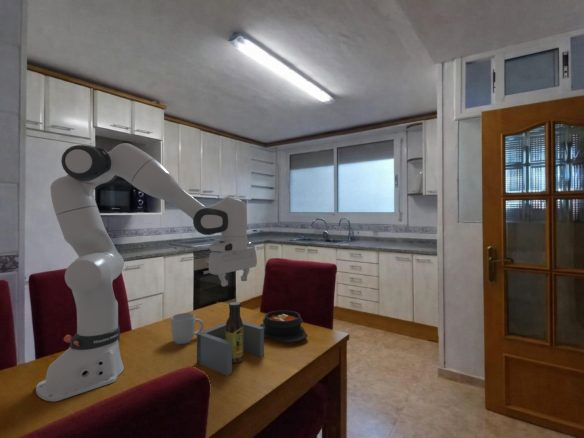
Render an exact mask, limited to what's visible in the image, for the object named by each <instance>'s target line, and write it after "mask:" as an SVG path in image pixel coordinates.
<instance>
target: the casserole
mask: <svg viewBox="0 0 584 438" xmlns="http://www.w3.org/2000/svg"><path fill="white" fill-rule="evenodd" d="M262 322H263V323H261V324H260V325H259V326H261V327H264V337H266V338H268V339H269V338H270V339H272V340H278V341H281V342H282V343H296V342H299V341H300V342H301V341H303V340H305V339H306V338H308V334H307V332H306V330H305V328H304V326H302V323H303V322H304V320H303V319H302V317H301V314H300V313H298V312H297V311H293V310H286V309H285V310H284V309H280V310H274V311H270V312H267V313H265V316H264V318H263V319H262Z"/></svg>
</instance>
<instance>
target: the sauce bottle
mask: <svg viewBox="0 0 584 438" xmlns="http://www.w3.org/2000/svg"><path fill="white" fill-rule="evenodd" d="M241 307H242V306H241V302H239V301H238V302H237V301H233V302H230V303H228V309H229V315H228V318H227V319H226V322H225V323H226V333H225V340H227V341H229V342H232V364H235V363H236V364H237V363H240V362H241V361H243V358H244V357H243V356H244V351H243V322H244V321H243V320H242V317H241ZM242 321H243V322H242Z"/></svg>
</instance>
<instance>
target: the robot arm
mask: <svg viewBox="0 0 584 438" xmlns="http://www.w3.org/2000/svg"><path fill="white" fill-rule="evenodd" d="M60 159H61V166H62V169H63V170H64V172H65V173H66V174H67V175H64V176H61V177H58V178H56V179H55V180H54V181H53V182H52V183H51V185H50V198H51V202H52V207H53V210H54V213H55V216H56V219H57V222H58V224H59V228H60V230H61V234H62V236H63V239H64V240H65V242H66V243H67V244H68V245H70V246H71V248H72V249H73V250H74V252H75V253H76V255H77V257H78V258H76V259H74V261H72V262H71V263H70V265H69V266H68V267H67V268H66V269H65V273H64V281H65V284H66V285H67V287H68V288H69V289H71V292H72V295H73V298H74V302H75V308H76V333H75V334H74V335H73V336H72V335H70V334H66V335H65V336H64V337H63V341H64V342H66V343H67V344H69V347H68V348H67V349H66V350H65V351H64V352H63V353H62V354H60V355H59V356H58V357H57V358H56V359H55V360H53V362H51V363H50V364H49V366H48V368H47V370H46V375H45V379H43V380H42V381H40V382H38V383H37V384H36V387H35V393H36V395H37V396H38V397H39V398H40V399H42V400H44V401H47V402H58V401H62V400H64V399H68V398H70V397H74V396H76V395H77V396H78V395H80V394H83V393H86V392H89V391H92V390H95V389H98V388H100V387H103V386H107V385H109V384H112V383H114V382H115V381H116V380H117V379H118V377H119V375H120V374H122V372H123V371H124V369H125V366H124V364H123V361H122V356H121V350H120V345H119V344H120V343H119V342H120V340H121V339H120V336H121V331H120V325H119V304H118V303H119V302H118V300H117V299H116V295H115V293H114V289H113V281H114V280H116V279H117V278H118V277H119V276H120V275H121V273H122V272H123V269H124V266H125V260H124V258H123V256H122V254H121V253H119V251H118V249H117V248H116V246H115V244H114V243H113V241H112V239H111V237H110V235H109V234H108V232H107V229H106V227H105V224H104V222H103V218H102V217H101V214H100V210H99V208H98V204H97V202H96V200H95V199H96V198H95V194H94V190H95V191H96V190H99V189H101V188H103V187H104V186H106V185H109V184H110V183H111V182H113V181H114V180H115V179H117V176H118V177H119V178H122V179H124V180H125V181H126V182H128V183H130V185H132V186H133V187H134V188H136V189H137V190H139V191H140V192H142V193H145V195H148V196H151V198H152V197H153V198H156V199H158V200H162V201H165V202H168V203H169V204H171V205H173V206H175V207H176V208H177V209H179V210H180V211H181V212H183V213H185V214H186V215H187V216H188V217H190V218H191V219H192V222H193V223H192V224H193V227H194V229H195V230H196V232H198V233H199V234H201V235H204V236H212V235H215V234H221V238H220V239H219V240H217V241H214V242H213V243H211V244H210V245H209V251H211V252H210V253H209V255H208V272H209V273H210V275H215V276H218V278H219V280H220V285H221V287H228V285H229V280H227V279H226V277H227V273H228V274H229V273H233V272H237V271H241V270H242V275H241V276H240V281H241V282H246V281H248V276H249V273H250V269H251V268H255V267H256V266H257V263H258V259H257V258H258V257H257V252H256V251H257V250H256V246H255V244H254V243H253V242H251V241H250V242H248V232H247V225H248V212H247V211H248V210H247V205H246V203H245V202H244V201H243V200H241V199H239V198H235V197H229V196H228V197H227V196H226V197H224V198H222V199H220V200H219V201H218V202H216V203H214V204H210V205H204V204H203V203H202V202H200V201H198V200H197V198H195V197H193V196H192V195H191V194H189V193H188V192H187V191H185V190H184V189H183V187H182V186H180V184H179V183H178V182H177V181H176V179H175V178H174V177H173V176H172V175H171V173H170V172H169V171H168V170H167V169H166V168H165V166H163V164H161V163H160V162H159V161H158V160H156V158H154V157H153V156H152V155H150V154H149V153H147V152H145V151H144V150H142V149H140V148H139V147H137V146H135V145H133V144H131V143H129V142H123V143H119V144H117V145H116V146H114V147H113V148H112V149H111V150H110V151H107V149H105V148H103V147H97V146H94V145H93V146H91V145H87V144H78V145H77V144H76V145H72V146H70V147H68V148H67V149H66V150H65V151H64V152H63V153H62V155H61V158H60Z"/></svg>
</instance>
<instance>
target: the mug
mask: <svg viewBox="0 0 584 438" xmlns="http://www.w3.org/2000/svg"><path fill="white" fill-rule="evenodd" d="M195 317H196V316H195V314H194V313H192V312H183V313H177V314H174V315H172V316H171V320H170V322H171V323H170V327H171V336H172V339H173V342H174V344H176V345H185V344H188V343H190V342H191V341H192V340H193V337H194V336H197V334H198V333H200V332H203V331H204V328H205V327H204V326H205V325H204V322H203V320H202V319H200V318H195ZM196 322H198V323H200V328H199V329H198V330H197V331H195V323H196Z"/></svg>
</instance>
